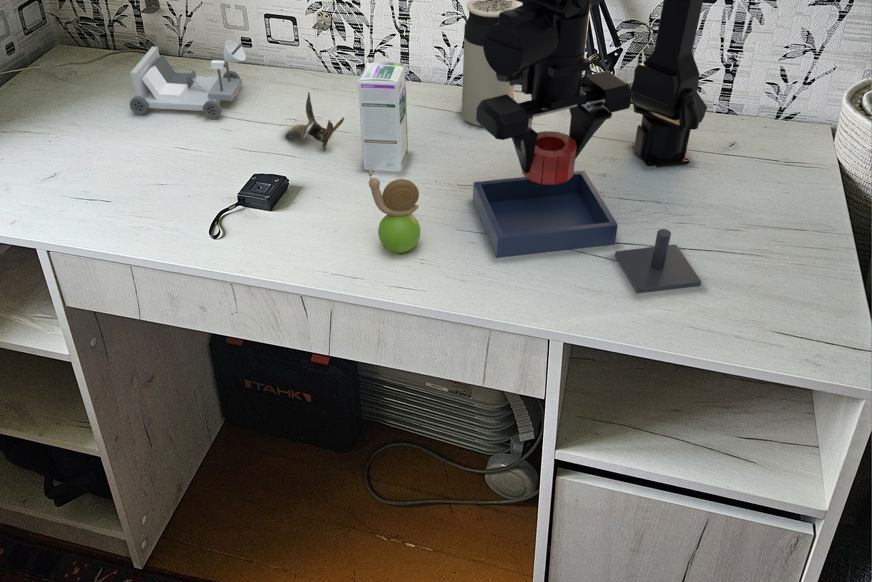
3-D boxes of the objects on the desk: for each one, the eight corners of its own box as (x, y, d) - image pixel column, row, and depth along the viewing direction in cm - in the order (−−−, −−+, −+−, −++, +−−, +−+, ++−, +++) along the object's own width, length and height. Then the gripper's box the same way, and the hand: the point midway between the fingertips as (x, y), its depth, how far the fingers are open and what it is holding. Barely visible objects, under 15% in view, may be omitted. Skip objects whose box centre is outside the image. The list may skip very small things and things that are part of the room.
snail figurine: (369, 239, 124) (366, 159, 116) (417, 235, 125) (417, 155, 117) (373, 263, 120) (369, 182, 112) (423, 259, 121) (423, 178, 113)
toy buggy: (249, 32, 153) (229, 62, 144) (256, 88, 159) (237, 120, 151) (145, 27, 156) (118, 57, 147) (155, 83, 162) (131, 114, 153)
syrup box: (401, 174, 137) (400, 80, 127) (361, 171, 138) (357, 78, 128) (408, 154, 141) (407, 62, 131) (369, 151, 142) (365, 60, 132)
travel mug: (514, 127, 146) (523, 14, 134) (463, 129, 146) (467, 15, 134) (509, 103, 152) (516, -8, 140) (460, 105, 152) (463, -6, 140)
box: (581, 191, 131) (584, 170, 129) (614, 246, 121) (618, 224, 119) (472, 203, 130) (473, 182, 128) (496, 260, 120) (497, 238, 118)
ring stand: (674, 250, 120) (683, 210, 116) (700, 288, 114) (709, 247, 110) (614, 257, 119) (620, 217, 116) (636, 295, 113) (644, 255, 110)
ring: (565, 156, 123) (568, 128, 120) (580, 182, 118) (584, 153, 115) (516, 161, 122) (518, 133, 120) (529, 187, 117) (531, 159, 115)
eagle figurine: (354, 131, 144) (317, 102, 148) (337, 107, 138) (299, 77, 142) (320, 168, 144) (284, 138, 148) (301, 145, 138) (264, 115, 142)
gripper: (590, 9, 118) (576, 122, 128) (457, 38, 112) (454, 153, 123) (643, 42, 110) (624, 160, 120) (502, 74, 105) (495, 194, 115)
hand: (548, 165), depth 120 cm, fingers closed on ring, 6 cm apart
